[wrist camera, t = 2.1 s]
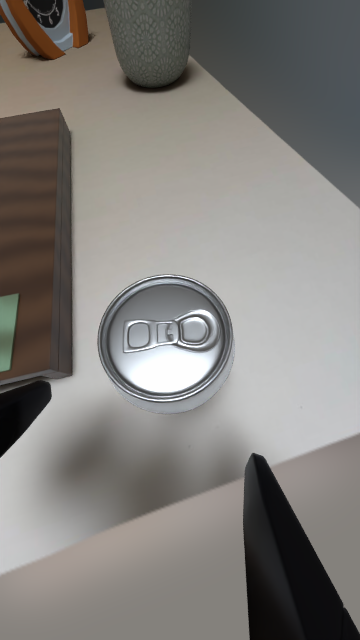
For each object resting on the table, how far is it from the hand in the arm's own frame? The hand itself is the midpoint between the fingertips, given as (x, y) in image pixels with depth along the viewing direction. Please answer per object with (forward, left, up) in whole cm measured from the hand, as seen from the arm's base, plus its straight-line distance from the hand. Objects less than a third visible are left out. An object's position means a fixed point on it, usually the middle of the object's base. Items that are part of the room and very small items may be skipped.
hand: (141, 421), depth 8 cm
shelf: (+22, +25, -10) cm, 35 cm away
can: (+4, -1, -11) cm, 11 cm away
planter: (+71, +13, -11) cm, 73 cm away
